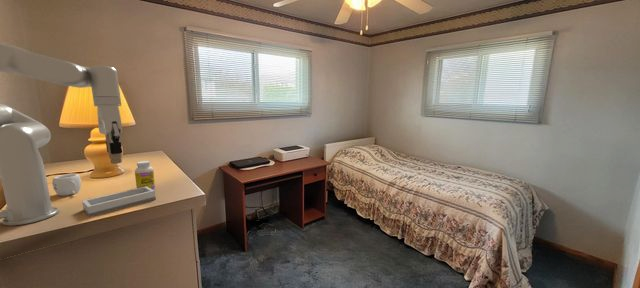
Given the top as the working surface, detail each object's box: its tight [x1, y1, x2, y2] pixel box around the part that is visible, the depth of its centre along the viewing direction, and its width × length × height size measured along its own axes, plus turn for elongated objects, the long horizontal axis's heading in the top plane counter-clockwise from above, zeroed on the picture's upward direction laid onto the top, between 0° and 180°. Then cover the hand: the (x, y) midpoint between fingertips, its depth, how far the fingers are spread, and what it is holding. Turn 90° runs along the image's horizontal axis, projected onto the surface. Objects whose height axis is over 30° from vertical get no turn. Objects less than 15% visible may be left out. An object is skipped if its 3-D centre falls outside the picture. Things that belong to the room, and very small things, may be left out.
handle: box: [106, 132, 123, 165], centre depth 93 cm, size 5×6×15 cm
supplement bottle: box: [134, 160, 156, 191], centre depth 110 cm, size 7×7×13 cm
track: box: [81, 186, 157, 217], centre depth 96 cm, size 20×10×4 cm, turn 141°
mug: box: [51, 173, 82, 197], centre depth 107 cm, size 12×8×8 cm
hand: (114, 152), depth 93 cm, fingers closed on handle, 4 cm apart
